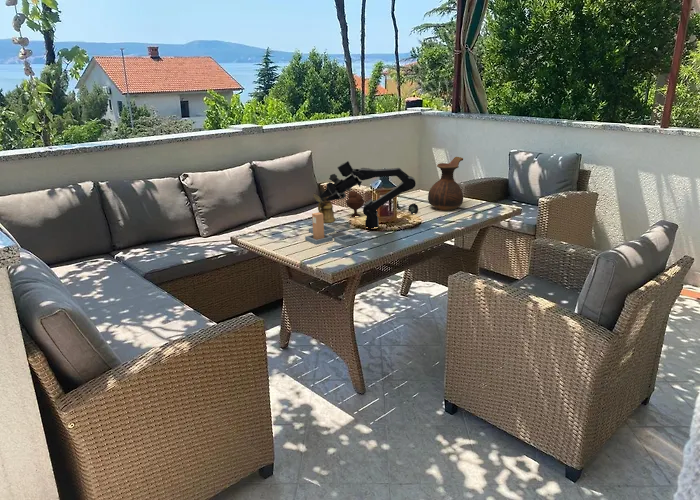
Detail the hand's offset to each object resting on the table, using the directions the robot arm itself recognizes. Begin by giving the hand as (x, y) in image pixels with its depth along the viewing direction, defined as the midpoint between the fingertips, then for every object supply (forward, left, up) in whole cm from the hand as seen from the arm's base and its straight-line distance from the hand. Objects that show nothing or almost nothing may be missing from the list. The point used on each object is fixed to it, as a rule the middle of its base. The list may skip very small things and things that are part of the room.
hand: (323, 198), depth 299 cm
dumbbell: (-36, -44, -17) cm, 59 cm away
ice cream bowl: (-11, -29, -17) cm, 35 cm away
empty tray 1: (0, +8, -17) cm, 19 cm away
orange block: (-3, +23, -16) cm, 28 cm away
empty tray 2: (-18, +23, -17) cm, 34 cm away
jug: (-62, -54, -17) cm, 84 cm away
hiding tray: (-3, +23, -17) cm, 28 cm away
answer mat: (-11, +14, -17) cm, 24 cm away
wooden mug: (+4, -14, -17) cm, 22 cm away
